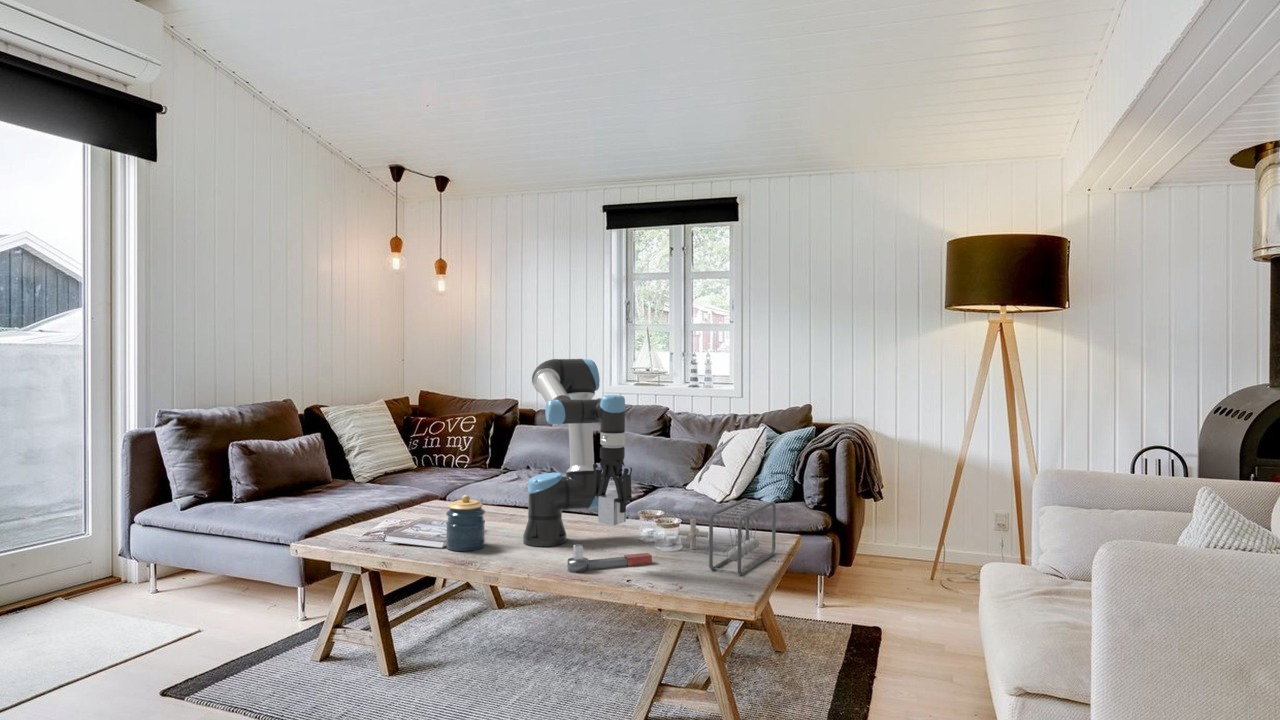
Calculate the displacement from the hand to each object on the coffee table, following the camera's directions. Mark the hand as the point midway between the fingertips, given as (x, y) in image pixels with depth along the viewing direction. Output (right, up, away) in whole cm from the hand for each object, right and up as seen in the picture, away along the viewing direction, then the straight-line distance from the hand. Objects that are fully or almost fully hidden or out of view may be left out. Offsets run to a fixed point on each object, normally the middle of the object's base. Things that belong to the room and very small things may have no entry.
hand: (611, 521), depth 225 cm
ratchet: (-1, -15, +3) cm, 15 cm away
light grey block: (0, 0, 0) cm, 0 cm away
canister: (-51, -14, +25) cm, 58 cm away
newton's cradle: (+42, -15, +8) cm, 45 cm away
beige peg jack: (+27, -15, +24) cm, 39 cm away
